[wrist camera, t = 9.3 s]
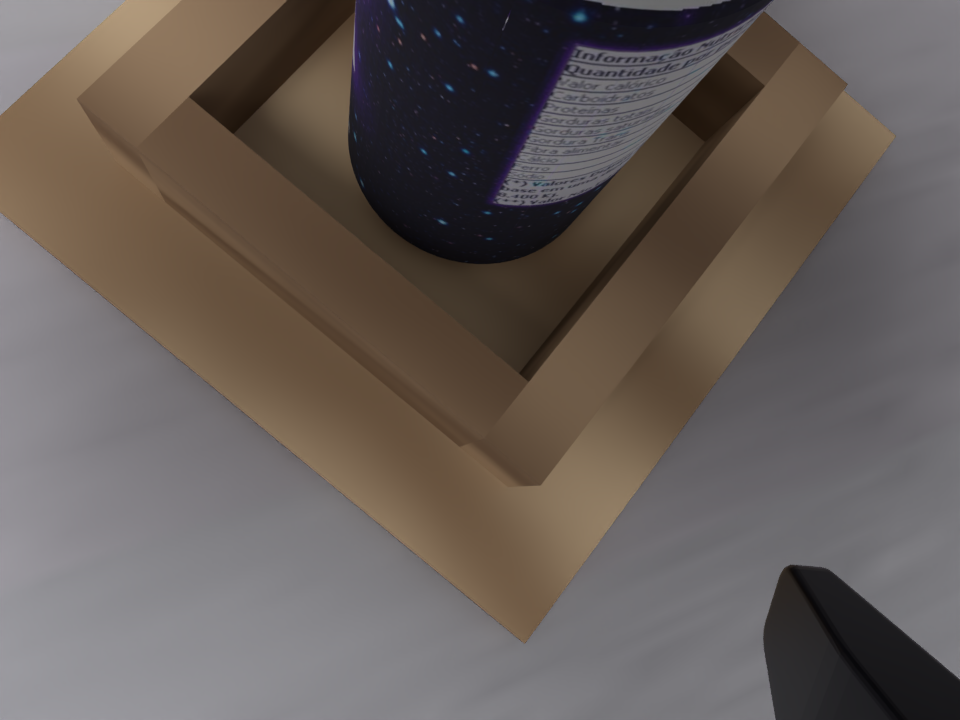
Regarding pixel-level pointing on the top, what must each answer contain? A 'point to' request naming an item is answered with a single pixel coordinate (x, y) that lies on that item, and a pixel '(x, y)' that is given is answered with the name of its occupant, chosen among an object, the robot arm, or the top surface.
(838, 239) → the top surface
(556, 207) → the beverage can
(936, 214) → the top surface
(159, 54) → the socket board
